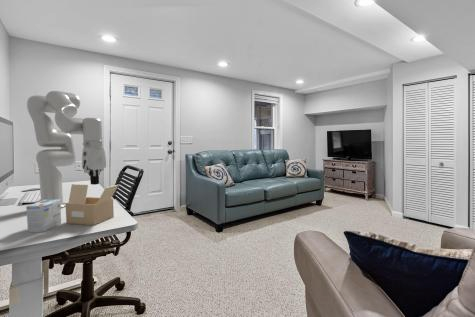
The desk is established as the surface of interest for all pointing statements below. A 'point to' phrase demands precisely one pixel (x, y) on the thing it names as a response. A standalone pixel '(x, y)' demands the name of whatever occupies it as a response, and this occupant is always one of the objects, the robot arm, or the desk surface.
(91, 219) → the carton
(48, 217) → the light bulb box
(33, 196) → the desk surface
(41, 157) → the robot arm
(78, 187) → the flap
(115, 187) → the flap
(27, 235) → the desk surface
